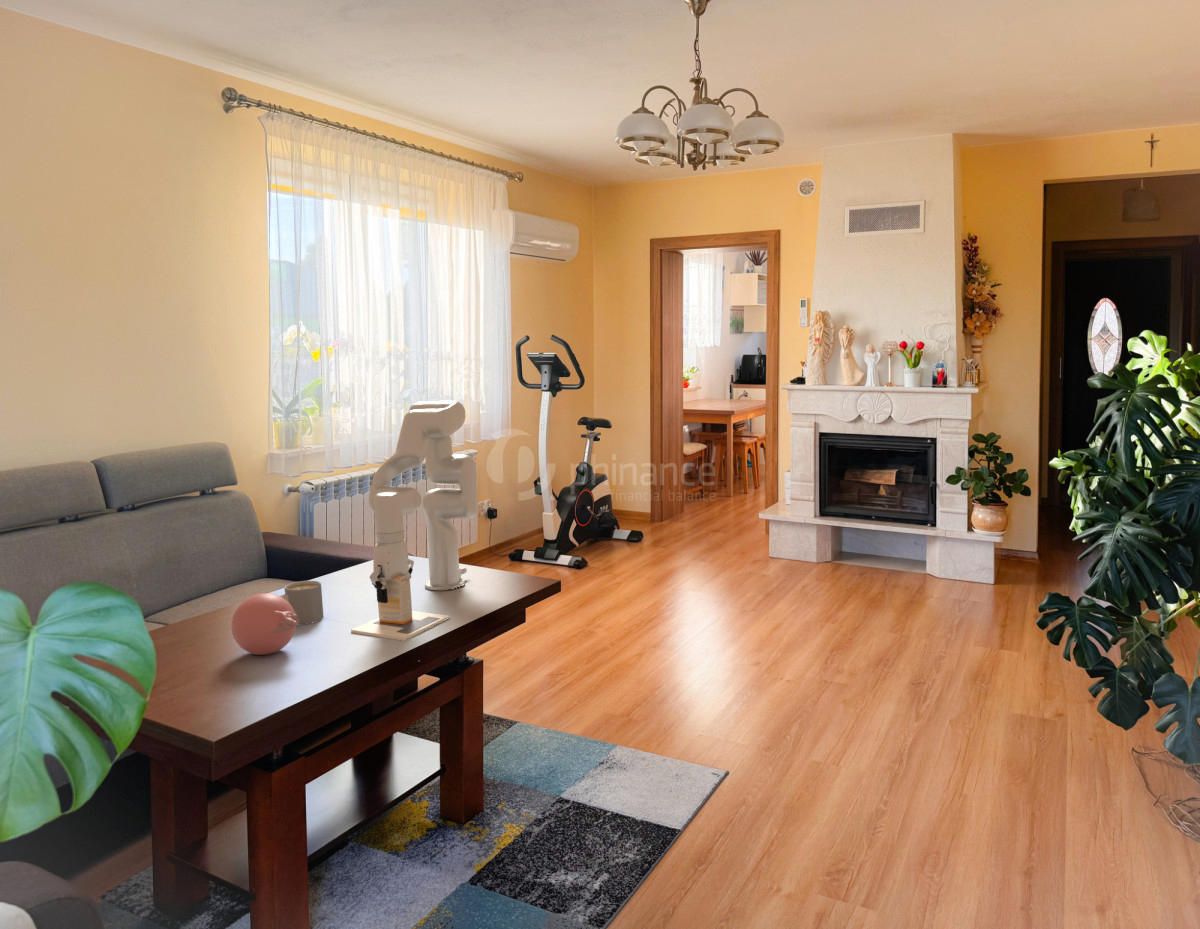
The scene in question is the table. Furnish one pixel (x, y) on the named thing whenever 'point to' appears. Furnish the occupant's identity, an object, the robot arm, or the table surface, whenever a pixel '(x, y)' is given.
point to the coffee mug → (305, 600)
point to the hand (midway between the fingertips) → (394, 597)
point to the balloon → (264, 624)
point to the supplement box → (397, 601)
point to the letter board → (400, 626)
